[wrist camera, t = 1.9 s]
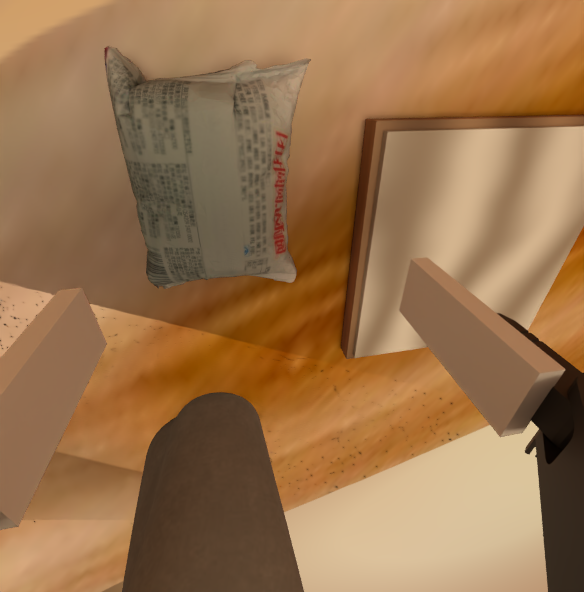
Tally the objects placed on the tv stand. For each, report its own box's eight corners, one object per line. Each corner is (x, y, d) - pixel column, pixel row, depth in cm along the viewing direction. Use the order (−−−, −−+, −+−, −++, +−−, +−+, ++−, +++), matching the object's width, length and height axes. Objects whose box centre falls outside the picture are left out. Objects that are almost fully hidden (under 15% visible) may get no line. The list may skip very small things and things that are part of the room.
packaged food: (298, 64, 16) (325, 55, 12) (289, 268, 22) (304, 308, 18) (113, 51, 14) (71, 35, 10) (161, 275, 21) (147, 320, 17)
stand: (340, 347, 28) (348, 363, 26) (365, 118, 18) (380, 121, 16) (512, 322, 31) (528, 335, 29) (614, 114, 21) (648, 115, 19)
